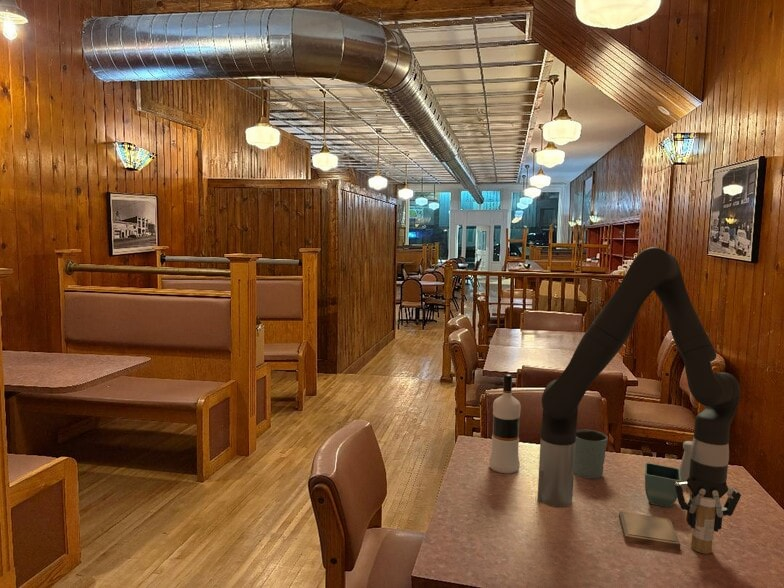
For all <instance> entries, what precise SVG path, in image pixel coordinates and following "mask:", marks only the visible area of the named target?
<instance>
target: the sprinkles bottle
mask: <svg viewBox="0 0 784 588" xmlns="http://www.w3.org/2000/svg"><path fill="white" fill-rule="evenodd" d="M715 510H716V507H715V500H714V499H713V498H708V497H703V498H701V501H700V504H699V506H697V508H696V510H695V514H696V516H695V527H694V528H691V541H690V547H691V549H692V550H693V551H695V552H697V553H700V554H712V552H713V540H714V533H715V531H714V524H715Z"/></svg>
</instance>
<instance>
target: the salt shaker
mask: <svg viewBox="0 0 784 588" xmlns="http://www.w3.org/2000/svg"><path fill="white" fill-rule="evenodd" d="M692 442H693V440H685V441H683V443H682V448H683V450H684V452H683V455H682V458H681V462H680V465H679V467H678V469H680V476H681V482H686V481H687V479H688V478H689V471H690V459H691V447H692Z"/></svg>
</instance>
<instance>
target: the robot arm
mask: <svg viewBox="0 0 784 588" xmlns="http://www.w3.org/2000/svg"><path fill="white" fill-rule="evenodd" d="M652 292H654V293H655V295H656V296H657V297H658V298H659V301H660V302H661V304H662V306H663V308H664V311H665V314H666V318H667V323H668V327H669V330H670V333H671V337H672V339H673V341H674V344H675V345H676V348H677V350H678V352H679V353H680V354H679V355H680V356H681V358H682V360H683V362H684V369H685V370H684V371H685V376H686V381H687V386H688V389H689V391H690V394H691V395H692V397H693V398H694V400H695V401H697V402H698V403H699V404H700V405H702V406H705V407H704V409H703V410H701V411H700V412H699V413H698V414H696V416H695V419H694V430H693V438H692V441H693V442H692V447H691V459H690V471H689V478H688V479H687V481H686V482H680V483H679V482H678V481H675V482H674V486H675V490H676V494H677V501H678V504H679V507H680V509H681V510H683V511H686V522H687V525H688V526H689V528H690V529H692V528H694V527H695V516H696V514H695V510H696V508H697V506H699V504H700V501H701V498H703V497H708V498H713V499H714V500H715V507H716V510H715V524H714V532H717V533H718V532H719V530H722V524H723V517H724V516H725V517H726V516H728V517H731V516H732V515H733V514H734V512H735V510H736V508H737V505H738V503H739V501H740V499H741V498H742V497H741V496H742V495H741V493H740V491H738V489H737V488H735V487H733V488H731V487H729V486H728V485H727V482H728V481H727V478H728V470H729V469H728V468H729V461H730V447H729V446H730V445H729V444H730V443H729V442H730V432H731V423H732V421H733V419H734V417H735V414H736V411H737V408H738V405H739V402H740V398H741V397H740V396H741V388H740V383H739V382H738V379H737V378H736V377H735V376H734V375H733V374H731V373H728V372H724V371H723V372H722V371H721V372H714V371H713V368H712V367H713V366H712V362H714V361H715V360H716V358H717V352H716V350H715V347H714V345H713V343H712V341H711V340H710V338H709V337H710V336H709V335H708V334H707V331H706V328H705V327H704V326H703V323H702V322H701V319H700V318H699V315H698V313H697V312H696V310H695V308H694V305H693V304H692V303H693V302H692V301H691V299H690V296H689V293H688V291H687V288H686V285H685V281H684V277H683V274H682V270H681V268H680V263H679V262H678V260H677V258H676V257H675V256H674V255H673V254H671V253H669V252H668V251H666V250H665V249H663V248H660V247H655V246H651V247H648V248H645V249H643V250H642V251H639V253H637V255H636V256H635V258H634V259H633V261H632V262H631V264H630V265H629V267H628V269H627V271H626V273H625V275H624V277H623V278H622V280H621V282H620V284H619V285H618V287H617V289H616V290H615V292H614V293H613V294H612V295H611V297H610V298H609V300H608V301H607V303H605V305H604V306H603V308H602V309H601V311H600V312H599V313H598V315H597V316H596V317H595V319H594V320H593V322H592V323H591V324H590V325H589V327H588V328H587V329H586V331H585V332H584V334H583V336H582V337H581V339H580V341H579V343H578V345H577V347H576V349H575V351H574V352H573V355H572V357H571V358H570V360H569V363H568V365H566V368H565V369H564V370H563V371H562V372H561V374H560V375H559V376H558V378H556V379H554V380H552V381H550V382H548V384H547V385H545V387H544V390H543V393H542V395H541V406H542V417H541V418H542V419H541V426H540V443H539V444H540V446H539V459H538V460H539V462H538V463H539V464H538V477H537V478H538V482H537V498H536V499H537V500H536V501H537V502H541V503H543V504H545V505H548V506H552V507H559V508H560V507H567V506H570V505H571V504H572V503H573V497H574V496H573V495H574V476H575V473H574V462H575V445H576V431H577V430H578V429H577V428H578V413H579V412H578V411H579V405H580V403H581V401H582V400H583V398H584V396H585V394H586V393H587V391H588V389H589V388H590V386H591V384H593V382H594V381H595V380H596V379H597V377H598V376H599V375H600V374H601V373H602V372H603V371H604V370H605V368H606V367H607V366H608V365H609V364H610V363H611V361H612V360H613V359H614V357H616V355H617V354H618V353H619V351H620V350H621V348H622V347H623V346H624V344H625V343H626V341H627V340H628V338H629V337H630V335H631V334H632V333H631V332H632V330H633V329H634V326H635V323H636V320H637V317H638V315H639V312H640V310H641V307H642V305H643V304H644V302H645V301H646V299H648V297H649V296H650V295H651V294H652ZM687 488H688V489H689V490H690V492H691V493H690V495H689V500H688V501H687V502H686V500H685V496H684V495H685V494H684V493H686V490H687ZM724 495H726V496H727V498H726V501H725V503H724V505H723V507H722V503H721V499H722V497H724Z"/></svg>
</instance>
